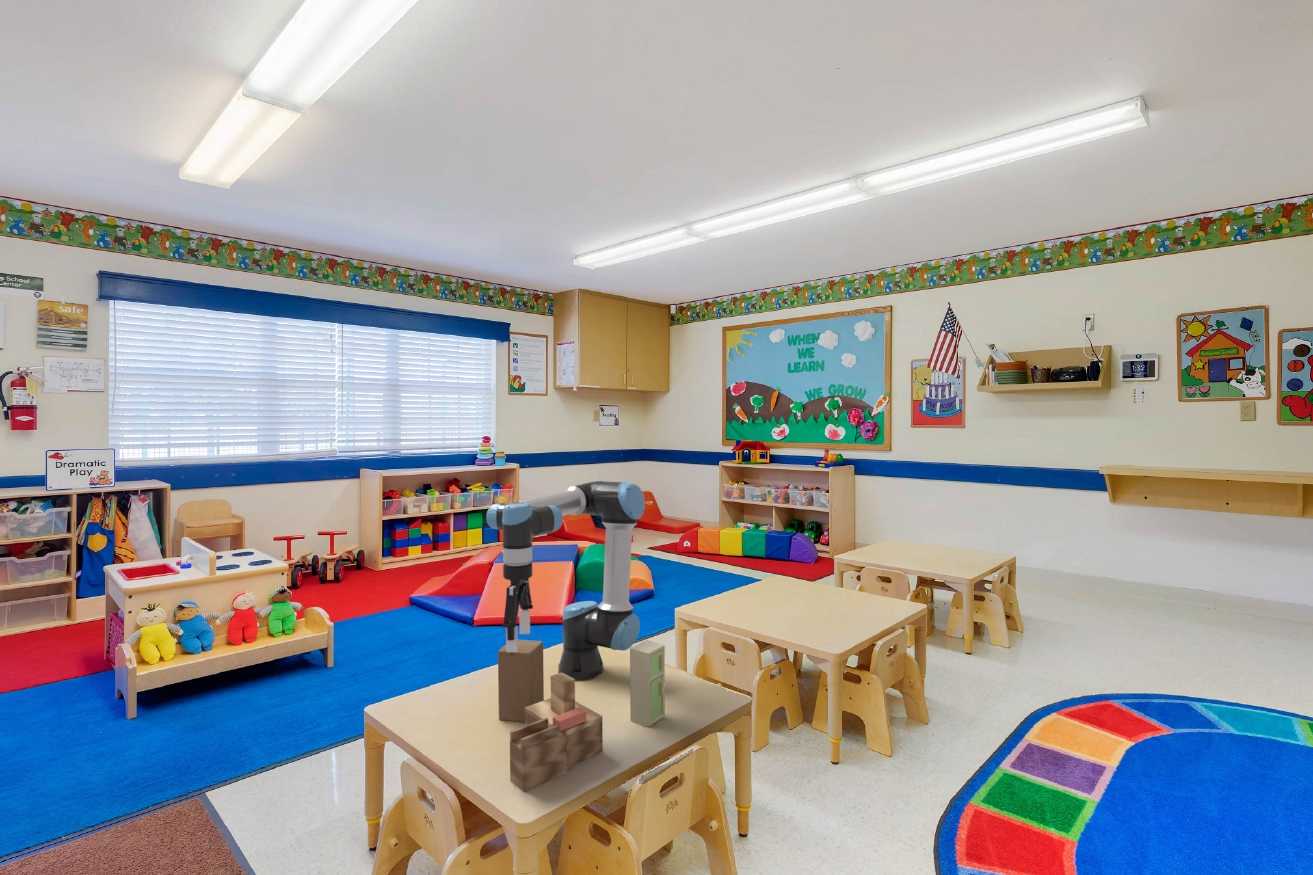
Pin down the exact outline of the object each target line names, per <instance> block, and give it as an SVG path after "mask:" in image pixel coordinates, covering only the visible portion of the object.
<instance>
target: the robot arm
mask: <svg viewBox="0 0 1313 875" xmlns="http://www.w3.org/2000/svg"><path fill="white" fill-rule="evenodd" d="M645 506H646V500H645V496H644V492H643V491H642V490H641V488H640V487H639V486H638V485H637V484H635V483H633V482H626V481H603V480H598V481H597V480H596V481H590V482H586V483H582V484H577V485H573V486H570V487H568V488H566V489H565V490H564V491H562V492H561V491H560V492H556V493H552V494H547V495H543V496H537V497H535V498H529V499H524V500H520V501H516V502H511V503H503V502H501V503H493V504H492V505H490V507H489V508H488V510H487V512H486V516H485V517H486V522H487V525H488V526H489V527H490V528H491V529H494V530H498V531H502V550H500V552H501V554H502V555H503V558H502V559H503V560H502V561H503V563H504V564H503V565H502V571H503V572H502V575H503V576H502V577H503V579H505V580H508V581H510V584H509V585H508V586H507V587H506V598H505V608H504V614H503V615H504V617H503V623H502V628H505V638H506V639H505V641H506V642H505V645H506V652H517V651H518V640H519V639H518V625H517V622H518V617H519V635H530V634H531V610H533V608H534V605H533V604H532V603H533V601H532V595H531V587H530V581H529V580H530V578H531V577H533V563H532V561H533V537H538V536H542V535H548V534H551V533H553V532H557V531H558V530H559V529H561V527H562V524H563V522H564V521H563V520H564V519H563V517H564V516H567V515H571V516H579V515H589V516H599V517H601V523H602V525H603V526H604V527H605V544H604V545H605V546H604V548H605V549H604V567H603V588H602V590H603V591H602V592H603V593H602V601H601V602H600V603H599V604H598V603H597V602H596V601H594V600H585V601H584V600H583V601H578V602H574V603H571V604H568V605H566V606H565V607H564V608H563V612H562V614H563V615H562V642H563V644H562V647H563V649H562V653H561V657H560V659H559V660H560V661H559V663H558V667H557V669H558V673H564V674H566V675H568V676H570V677H572V678H574V679H575V681H586V680H591V679H595V678H597V677H599V676H601V675H602V674H603V672H604V663H603V660H602V656H601V653H600V650H599V647H602V648H606V649H612V650H613V651H626V650H630V648H631V647H633V645H634V644H635V642H636V640H637V638H638V635H639V633H640V626H641V623H640V619H639V617H638V616H637V615H636V614H635V613H634V606H633V604H632V603H631V602H630V585H631V584H630V583H631V582H630V580H631V564H632V563H631V561H632V559H631V558H632V540H633V539H632V538H633V537H632V536H633V528H634V527H635V526H637V525H638V519H640V518H642V516H643V514H644V512H645V509H646V508H645ZM518 615H519V616H518ZM558 673H557V674H558Z"/></svg>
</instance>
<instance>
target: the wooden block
mask: <svg viewBox="0 0 1313 875" xmlns="http://www.w3.org/2000/svg"><path fill="white" fill-rule="evenodd" d="M497 667H498V668H497V674H498V675H497V676H498V679H497V680H498V682H497V683H498V719H499V720H500V721H510V722H521V723H522V722H523V723H525V707H527V706H530V705H533V704H536V703H539V702H541V701H544V699H545V697H544V695H545V693H544V692H545V689H544V684H545V683H544V682H545V681H544V675H545V674H544V642H543V641H541V640H531V639H529V640H528V639H518V651H517V652H506V644H505V645H503V646H502V647H500V649H499V650H498V652H497Z"/></svg>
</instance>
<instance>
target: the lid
mask: <svg viewBox="0 0 1313 875" xmlns="http://www.w3.org/2000/svg"><path fill="white" fill-rule="evenodd" d="M579 707H580V708H582V709H583V710H585V711H586V720H587V721H585V722H583V723H580V724H578V725H575V726H573V727H570V728H568V729H565V730H563V731H564V732H566V733H567V735H569V734H572V733H574V732H576V731H579V730H581V729H584V728H586V727H589V726H591V725H594V724H596V723H598V722H601V721H602V722H603V715H602V714H600V713H598V712H596V711H594V710H592V709H591V708H590V707H589V708H588V707H586V706H585V705H583V704H581V703H579V702H578V701H576V680H575V679H574V678H572V677H570V676H568V675H566V674H564V673H556V674H553V675H550V697H549V698H547V699H545V700H544V701H541V702H539V703H536V704H533V705H530V706H527V707H525V712H526V713H527V714H529V715H530V716H532V717H534V718H535V719H537V720H538V721H539V720H542V719H544V718H548V726H550V725H552V724H553V717H555V716H558V715H560V714H563V713H566V712H568V711H571V710H574V709H576V708H579Z"/></svg>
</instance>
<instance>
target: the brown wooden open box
mask: <svg viewBox="0 0 1313 875" xmlns="http://www.w3.org/2000/svg"><path fill="white" fill-rule="evenodd" d="M603 739H604V738H603V720H602V721H601V722H598V723H596V724H594V725H591V726H589V727H586V728H584V729H581V730H579V731H576V732H574V733H572V734H569V735H567V733H566V732H564V731H561V732H559V725H555V726H553V724H552V725H550V726H548V718H544V719H542V720H539V721H538V720H537V719H535V718H534V717H532V716H530V715H529V714H527V713H526V712H525V722H524V725H523V726H521V727H519V728H516V729H512V730H511V731H509V772H510V773H509V775H510V776H509V781H510V782H511V783H512V784H513V785H515V787H517V788H519V789H520V790H521V791H522V792H526V791H528V790H530V789H532V788H534V787H537V786H539V785H541V784H543V783H545V782H547V781H550V780H552V779H555V778H556V777H558V776H561V775H564V774H565V773H567V772H568V768H570V767H572V766H574V765H576V764H578V763H580V762H582V761H585V760H587V759H589V758H592V757H593V756H597V755H598V754H600V753H603V752H604V751H603V748H604V745H603V743H604V742H603Z"/></svg>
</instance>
